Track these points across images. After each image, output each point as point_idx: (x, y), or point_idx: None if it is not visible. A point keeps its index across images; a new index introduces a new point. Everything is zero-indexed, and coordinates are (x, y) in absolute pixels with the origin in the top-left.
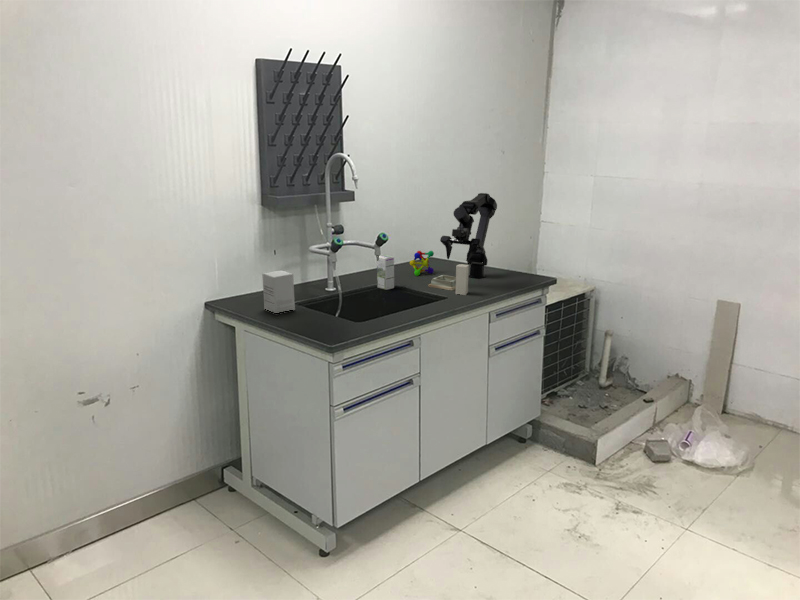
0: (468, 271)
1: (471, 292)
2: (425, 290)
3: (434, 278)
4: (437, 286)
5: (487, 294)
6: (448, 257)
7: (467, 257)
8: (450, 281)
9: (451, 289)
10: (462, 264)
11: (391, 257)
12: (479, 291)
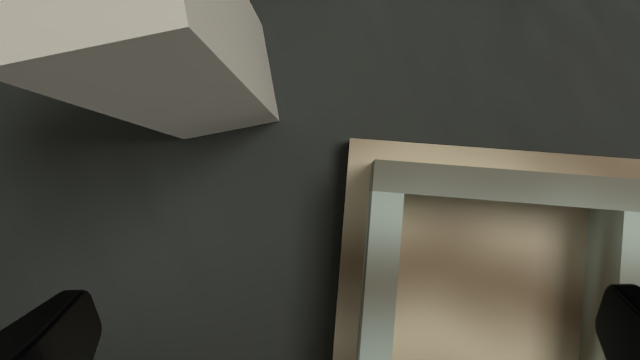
0: (56, 94)
1: (158, 167)
2: (581, 8)
3: (637, 225)
4: (525, 152)
5: (4, 174)
6: (622, 328)
7: (13, 337)
8: (396, 181)
9: (355, 139)
10: (104, 43)
11: None
12: (107, 241)
